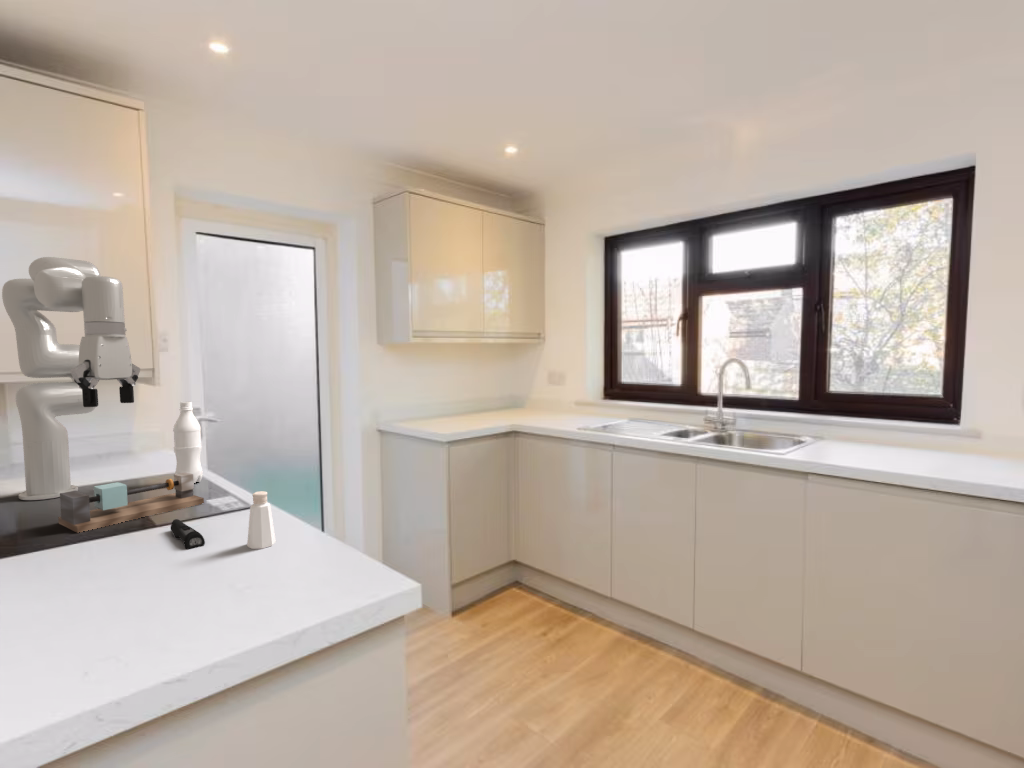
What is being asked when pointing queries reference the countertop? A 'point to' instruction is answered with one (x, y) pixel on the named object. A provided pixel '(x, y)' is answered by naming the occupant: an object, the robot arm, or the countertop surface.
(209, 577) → the countertop surface
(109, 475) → the countertop surface
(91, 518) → the linear slide rail
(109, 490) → the sleeve
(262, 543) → the pepper shaker
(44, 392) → the robot arm
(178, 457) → the water bottle
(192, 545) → the electric trimmer
